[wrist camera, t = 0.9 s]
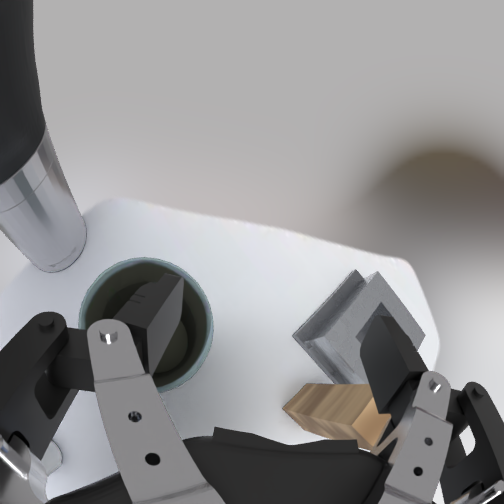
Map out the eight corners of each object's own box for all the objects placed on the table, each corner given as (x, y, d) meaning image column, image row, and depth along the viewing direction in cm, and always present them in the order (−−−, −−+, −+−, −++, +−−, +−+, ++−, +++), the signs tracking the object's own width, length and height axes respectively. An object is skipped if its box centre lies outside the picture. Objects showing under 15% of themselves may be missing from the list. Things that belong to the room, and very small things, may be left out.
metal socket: (292, 335, 33) (310, 329, 28) (352, 271, 39) (372, 258, 35) (363, 414, 30) (387, 416, 26) (409, 344, 37) (432, 339, 33)
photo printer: (10, 464, 14) (-39, 485, 3) (-2, 434, 16) (-57, 446, 5) (68, 466, 18) (26, 502, 7) (55, 434, 19) (3, 458, 9)
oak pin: (282, 408, 29) (351, 425, 16) (306, 383, 31) (382, 383, 18) (304, 430, 28) (378, 452, 16) (327, 405, 30) (406, 412, 18)
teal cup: (121, 389, 25) (91, 401, 14) (105, 302, 28) (72, 265, 18) (208, 374, 28) (229, 378, 18) (188, 290, 32) (198, 247, 21)
